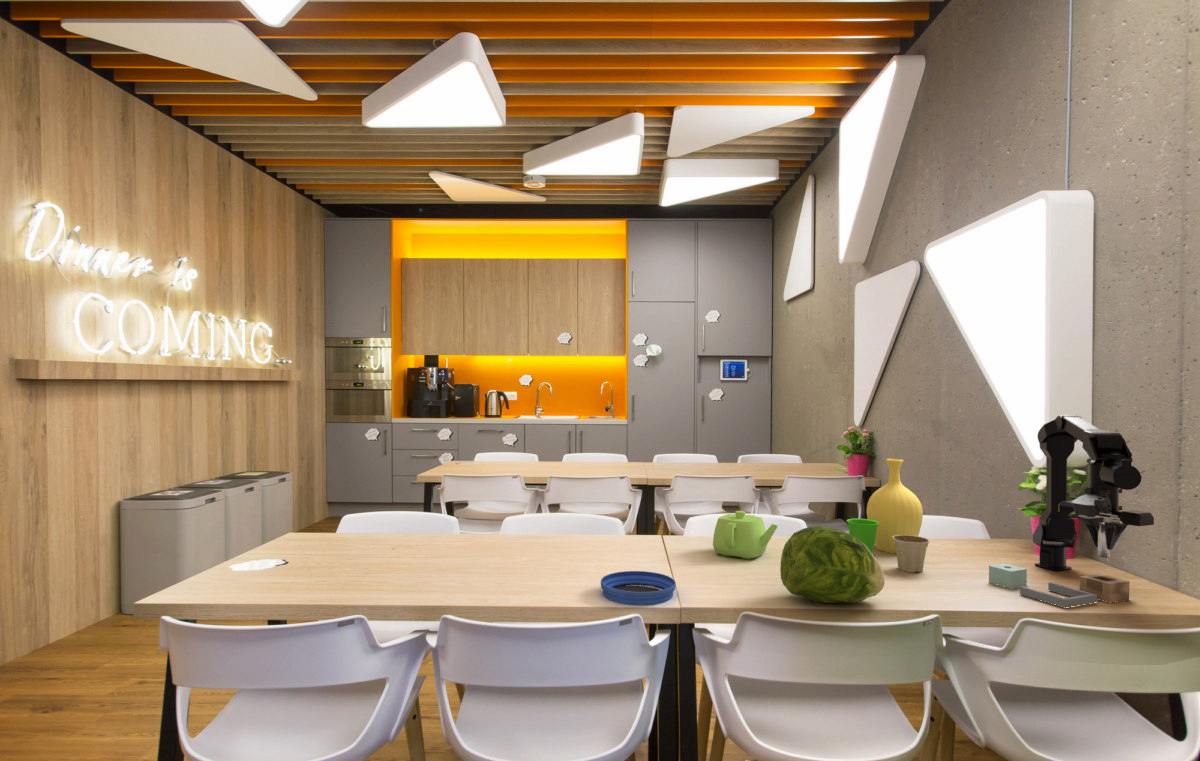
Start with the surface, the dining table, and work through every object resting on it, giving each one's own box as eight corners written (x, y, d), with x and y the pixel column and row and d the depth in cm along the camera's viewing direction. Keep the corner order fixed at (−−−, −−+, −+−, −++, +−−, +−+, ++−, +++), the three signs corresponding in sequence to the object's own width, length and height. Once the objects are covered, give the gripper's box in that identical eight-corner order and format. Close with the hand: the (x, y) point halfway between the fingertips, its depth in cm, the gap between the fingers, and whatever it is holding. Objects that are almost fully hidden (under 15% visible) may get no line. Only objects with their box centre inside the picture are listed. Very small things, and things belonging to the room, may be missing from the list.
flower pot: (933, 575, 182) (933, 543, 182) (896, 573, 184) (896, 541, 184) (924, 566, 191) (924, 535, 191) (888, 564, 193) (888, 534, 193)
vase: (932, 556, 203) (932, 462, 203) (878, 555, 203) (878, 462, 203) (908, 543, 219) (909, 456, 219) (858, 543, 219) (859, 456, 219)
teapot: (787, 553, 205) (787, 510, 205) (765, 567, 188) (765, 521, 189) (729, 545, 215) (730, 504, 215) (704, 558, 198) (704, 513, 198)
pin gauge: (1101, 555, 165) (1101, 522, 165) (1112, 557, 163) (1112, 524, 163) (1095, 555, 164) (1095, 522, 164) (1105, 558, 162) (1105, 524, 162)
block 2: (1098, 591, 168) (1098, 573, 168) (1129, 600, 162) (1129, 581, 162) (1079, 594, 166) (1079, 576, 166) (1110, 603, 159) (1110, 584, 159)
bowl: (654, 612, 151) (654, 596, 151) (586, 598, 161) (586, 583, 161) (687, 592, 167) (687, 577, 167) (624, 580, 176) (624, 566, 176)
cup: (878, 556, 202) (878, 519, 202) (880, 564, 193) (880, 525, 193) (845, 554, 205) (846, 517, 205) (846, 561, 196) (846, 523, 196)
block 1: (1004, 580, 178) (1004, 562, 178) (1026, 586, 173) (1026, 568, 173) (988, 583, 176) (988, 565, 176) (1011, 589, 170) (1011, 571, 170)
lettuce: (909, 581, 148) (885, 519, 163) (805, 562, 147) (791, 502, 162) (875, 631, 158) (855, 568, 173) (778, 614, 157) (767, 552, 172)
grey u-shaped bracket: (1051, 590, 169) (1051, 582, 169) (1097, 603, 159) (1097, 594, 159) (1019, 594, 165) (1019, 586, 165) (1065, 608, 155) (1065, 599, 155)
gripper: (1043, 480, 170) (1043, 542, 170) (1124, 491, 152) (1123, 560, 152) (1073, 478, 174) (1073, 539, 174) (1155, 488, 156) (1155, 556, 156)
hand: (1103, 548), depth 164 cm, fingers closed on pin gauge, 2 cm apart
